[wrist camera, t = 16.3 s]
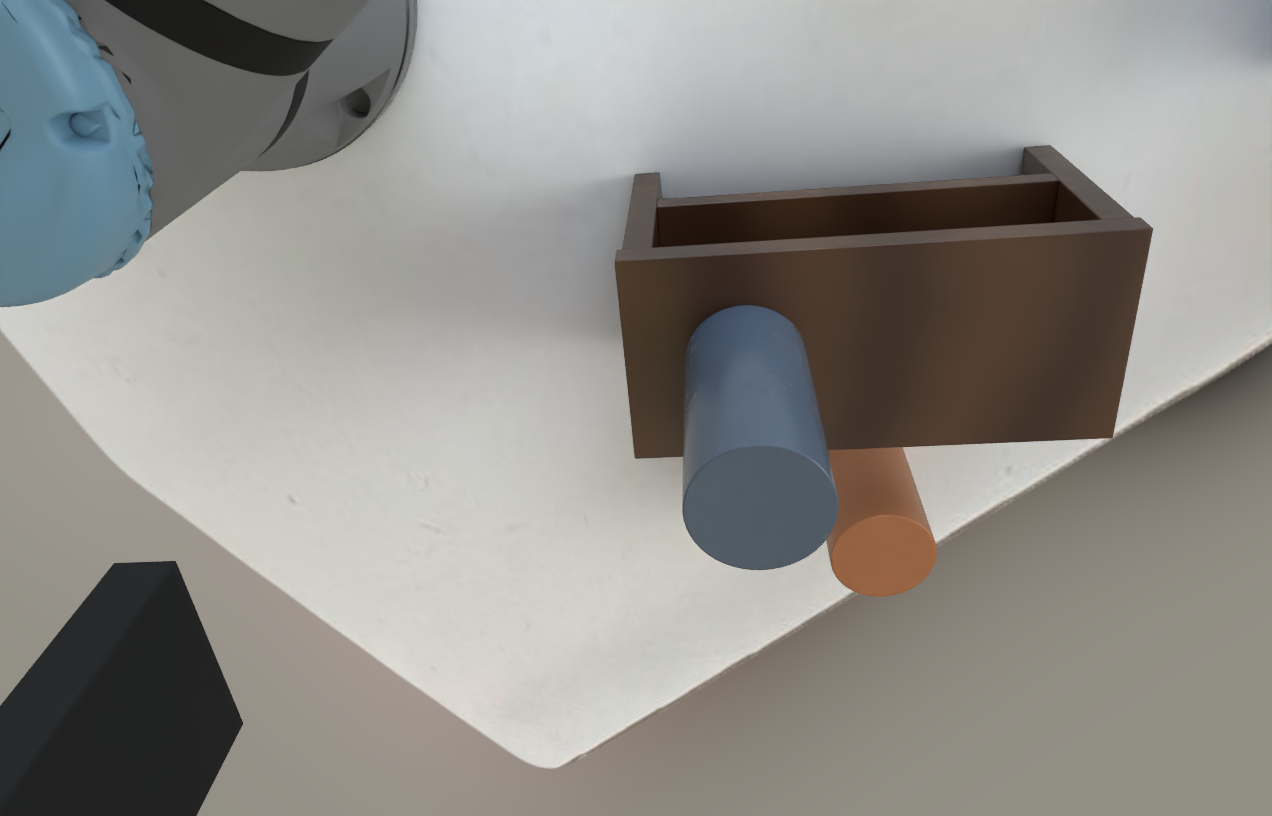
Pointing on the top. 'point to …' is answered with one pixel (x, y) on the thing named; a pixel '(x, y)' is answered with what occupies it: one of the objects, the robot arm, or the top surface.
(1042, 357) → the desk shelf
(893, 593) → the copper tin
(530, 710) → the top surface
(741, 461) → the slate tin
